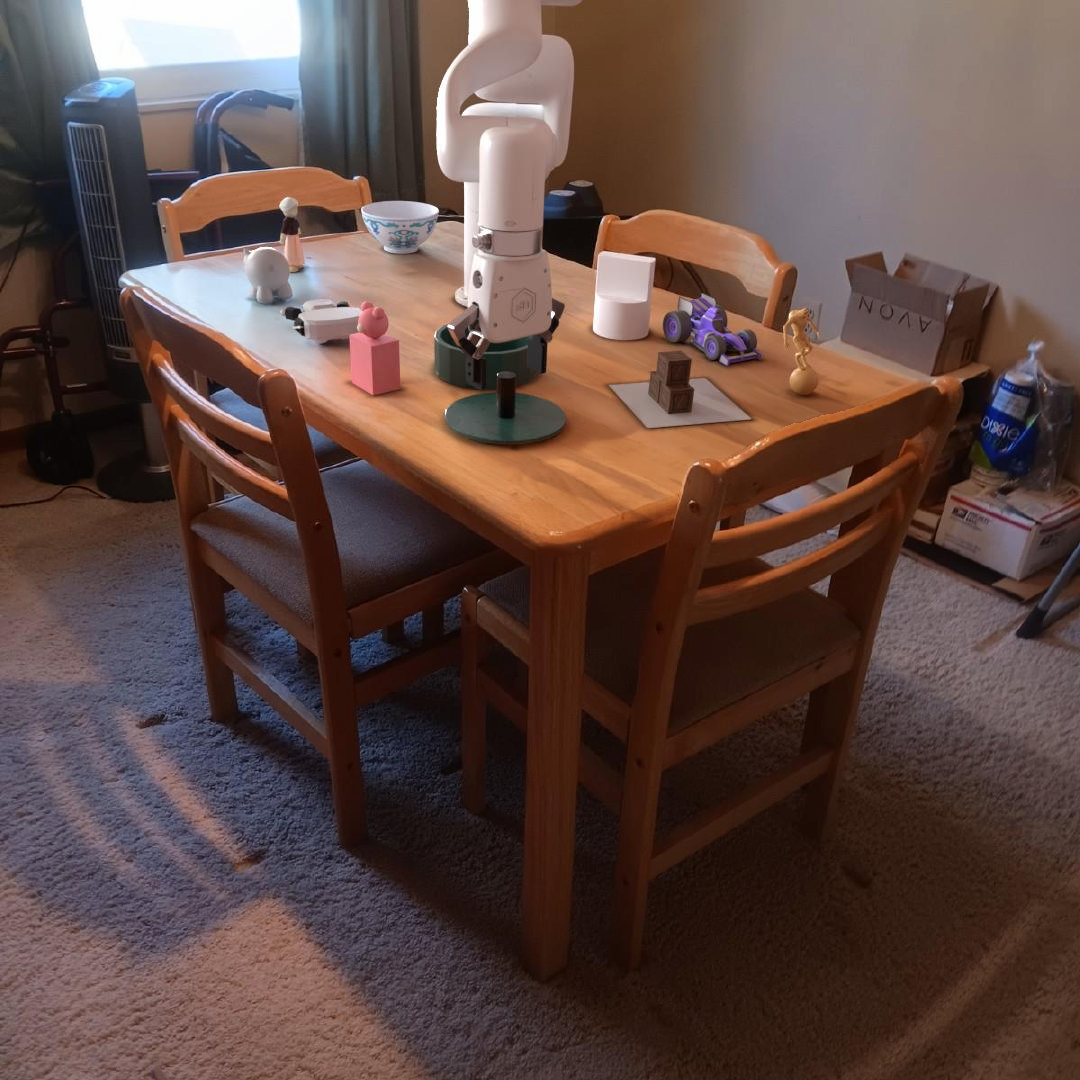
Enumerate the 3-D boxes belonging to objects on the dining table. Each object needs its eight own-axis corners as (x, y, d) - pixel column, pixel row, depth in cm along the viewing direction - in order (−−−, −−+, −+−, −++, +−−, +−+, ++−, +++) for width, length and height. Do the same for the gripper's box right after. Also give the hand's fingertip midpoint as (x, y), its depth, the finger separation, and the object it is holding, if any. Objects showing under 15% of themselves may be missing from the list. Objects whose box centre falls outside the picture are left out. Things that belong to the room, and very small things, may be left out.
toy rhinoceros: (272, 283, 178) (267, 234, 173) (298, 301, 169) (294, 250, 165) (232, 288, 174) (226, 238, 170) (257, 307, 166) (252, 255, 161)
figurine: (796, 405, 140) (811, 321, 134) (760, 392, 143) (774, 309, 137) (829, 391, 145) (845, 309, 139) (794, 378, 148) (808, 298, 142)
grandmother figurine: (300, 274, 183) (295, 202, 177) (279, 273, 183) (273, 201, 177) (309, 262, 190) (304, 193, 183) (289, 261, 190) (283, 192, 183)
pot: (494, 346, 155) (495, 312, 152) (557, 376, 145) (559, 341, 142) (415, 365, 146) (414, 330, 144) (476, 398, 137) (476, 361, 134)
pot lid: (514, 390, 140) (516, 345, 136) (590, 429, 130) (594, 381, 126) (421, 416, 131) (420, 368, 128) (494, 459, 121) (495, 409, 117)
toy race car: (719, 368, 151) (725, 326, 147) (660, 337, 162) (664, 297, 158) (768, 359, 155) (775, 318, 152) (707, 329, 166) (712, 290, 163)
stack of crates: (751, 419, 135) (759, 371, 131) (647, 428, 131) (652, 378, 127) (704, 378, 147) (711, 333, 143) (608, 385, 143) (612, 339, 139)
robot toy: (277, 328, 160) (302, 353, 148) (274, 300, 158) (299, 322, 146) (351, 320, 165) (382, 343, 153) (349, 292, 163) (380, 313, 151)
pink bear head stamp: (378, 376, 142) (375, 296, 136) (400, 389, 139) (398, 307, 133) (350, 383, 140) (345, 302, 134) (371, 396, 136) (368, 313, 130)
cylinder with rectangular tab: (585, 334, 161) (590, 259, 155) (602, 318, 168) (607, 246, 162) (640, 343, 159) (647, 267, 153) (654, 326, 166) (661, 253, 160)
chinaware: (352, 255, 195) (350, 214, 191) (376, 237, 208) (374, 198, 204) (428, 262, 193) (427, 221, 189) (447, 243, 206) (446, 204, 202)
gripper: (470, 257, 111) (469, 402, 120) (586, 238, 121) (577, 373, 129) (431, 243, 116) (433, 383, 124) (545, 225, 126) (540, 356, 134)
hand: (506, 378), depth 127 cm, fingers open, 9 cm apart
